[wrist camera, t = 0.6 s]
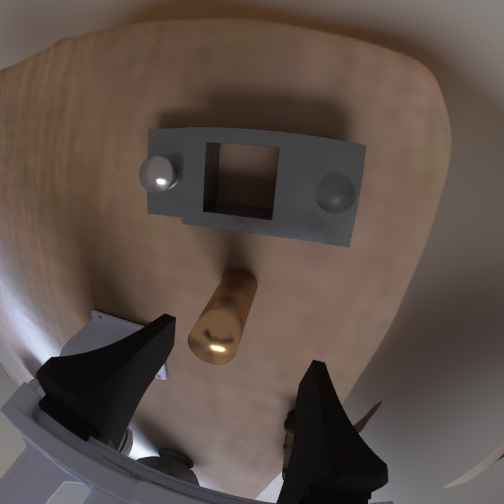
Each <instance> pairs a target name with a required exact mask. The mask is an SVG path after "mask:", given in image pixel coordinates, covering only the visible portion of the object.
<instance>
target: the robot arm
mask: <svg viewBox="0 0 504 504" xmlns="http://www.w3.org/2000/svg"><path fill="white" fill-rule="evenodd" d="M91 314H92V319H91V320H90V321H89V322H88V323H87V324H86V325H85V326H84V327H83V328H82V329H81V330H80V331H79V332H78V333H76V334H75V335H74V336H73V337H72V338H71V339H70V340H69V341H68V342H67V343H66V345H65V346H64V347H63V349H62V351H61V353H60V356H59V357H51V358H50V359H49V360H47V361H46V362H45V364H44V365H43V366H42V367H41V368H40V369H39V370H38V371H37V372H36V377H37V379H38V382H39V383H40V386H39V387H38V388H37V389H36V390H34V389H33V388H32V387H31V386H29V385H28V384H27V383H26V382H24V383H23V384H22V385H21V386H20V387H19V388H18V389H17V390H16V392H15V393H14V394H13V395H12V396H11V397H10V398H9V400H8V401H7V402H6V403H5V404H4V405H3V406H2V408H1V409H0V411H1V413H2V414H3V415H4V416H5V418H6V419H7V420H8V421H9V422H10V423H11V424H12V426H13V427H14V428H15V429H16V430H17V431H18V432H19V433H20V434H21V435H22V436H23V439H24V442H25V444H26V449H25V450H24V451H23V452H22V453H21V455H20V456H19V457H18V458H17V459H16V461H15V462H14V463H13V464H12V465H11V467H10V468H9V469H8V470H7V472H6V473H5V474H4V475H3V477H2V478H1V479H0V504H47V502H48V501H49V500H50V499H51V498H52V497H53V495H54V494H55V493H56V492H57V491H58V490H59V488H60V487H61V486H62V485H63V483H65V482H73V483H81V484H84V485H86V486H87V487H89V488H90V489H92V490H91V492H90V493H89V495H88V497H87V499H86V500H85V502H84V504H368V500H369V499H371V492H373V491H375V490H377V489H379V488H381V487H383V486H384V485H386V483H387V482H388V469H387V465H386V463H384V462H383V461H382V460H381V459H380V458H379V457H378V456H377V455H376V454H375V453H374V452H373V451H372V450H371V449H370V448H369V447H368V446H367V444H366V443H365V442H364V441H363V439H362V438H361V437H360V435H359V434H358V433H357V431H356V430H355V428H354V427H353V425H352V424H351V422H350V420H349V419H348V417H347V415H346V413H345V411H344V409H343V407H342V405H341V403H340V401H339V399H338V396H337V394H336V391H335V389H334V387H333V384H332V381H331V379H330V376H329V373H328V370H327V367H326V365H325V363H324V362H320V361H316V360H313V361H312V363H311V365H310V366H309V368H308V370H307V372H306V373H305V375H304V377H303V379H302V380H301V382H300V384H299V389H298V394H297V399H296V411H295V426H294V438H293V445H292V450H291V454H290V459H289V463H288V467H287V471H286V475H285V478H284V482H283V485H282V489H281V491H280V494H279V497H278V500H277V503H269V502H263V501H258V500H252V499H247V498H243V497H238V496H234V495H230V494H226V493H222V492H218V491H214V490H211V489H208V488H204V487H201V486H198V485H195V484H192V483H189V482H186V481H183V480H180V479H178V478H175V477H172V476H170V475H167V474H165V473H162V472H160V471H157V470H155V469H153V468H150V467H148V466H146V465H144V464H142V463H140V462H137V461H135V460H133V459H131V458H129V457H128V455H129V453H130V451H131V449H132V445H133V434H132V431H131V430H130V429H129V428H128V427H129V426H130V424H131V422H132V420H131V418H132V416H133V414H134V412H135V410H136V408H137V406H138V404H139V402H140V400H141V398H142V396H143V394H144V393H145V391H146V389H147V388H148V386H149V385H150V384H151V382H152V381H153V379H154V378H155V377H156V378H159V379H162V380H166V379H167V372H166V367H165V361H166V360H167V358H168V356H169V354H170V352H171V350H172V348H173V346H174V338H175V324H176V317H173V316H170V315H168V314H163V315H162V316H160V317H159V318H157V319H156V320H154V321H153V322H151V323H149V324H148V325H146V326H142V325H139V324H136V323H132V322H129V321H126V320H123V319H120V318H116V317H113V316H110V315H107V314H104V313H101V312H99V311H96V310H93V311H92V312H91ZM127 472H128V473H127ZM129 473H130V474H132V475H134V476H136V477H138V478H140V479H142V480H141V481H140V480H137V479H135V478H133V477H130V474H129ZM371 504H393V502H392V501H389V502H379V503H371Z"/></svg>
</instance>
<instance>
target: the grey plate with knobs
mask: <svg viewBox="0 0 504 504" xmlns="http://www.w3.org/2000/svg"><path fill="white" fill-rule="evenodd" d="M220 143H229V144H244V145H256V146H267V147H277V148H280V150H279V160H278V170H277V179H276V189H275V198H274V207H273V210H272V209H264V208H256V207H248V206H240V205H231V204H222V203H216V195H217V178H218V163H219V149H220ZM365 152H366V145H362V144H357V143H352V142H347V141H341V140H336V139H330V138H324V137H317V136H310V135H303V134H296V133H287V132H278V131H268V130H256V129H241V128H219V127H186V128H169V129H149V142H148V158H147V159H146V160H145V161H144V162H143V163H142V165H141V167H140V171H139V178H140V182H141V184H142V186H143V187H144V188H145V189H146V190H147V204H148V213H149V214H158V215H167V216H176V217H182V224H188V225H196V226H204V227H212V228H220V229H227V230H235V231H242V232H249V233H257V234H264V235H271V236H278V237H285V238H292V239H298V240H305V241H312V242H319V243H325V244H332V245H338V246H345V247H349V245H350V241H351V236H352V231H353V226H354V221H355V216H356V210H357V205H358V199H359V193H360V187H361V181H362V174H363V167H364V160H365Z"/></svg>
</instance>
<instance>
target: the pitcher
mask: <svg viewBox="0 0 504 504" xmlns="http://www.w3.org/2000/svg"><path fill="white" fill-rule="evenodd" d="M159 455H160V457H158V456H150V457H144V458H139V459H138V460H136V461H137V462H140V463H142V464H144V465H146V466H148V467H150V468H153V469H155V470H157V471H160V472H162V473H165V474H167V475H170V476H172V477H175V478H178V479H180V480H183V481H186V482H189V483H192V484H195V485H198V486H200V485H199V482H198V479H197V477H196V475H195V474H194V472H193V471H192V470H190V469H191V468H192V467H193V465H194V464H193V462H192V461H191V460H190V459H189V458H188V457H186V456H184V455H183V454H181V453H178V452H176V451H173V450H169V449H160V450H159ZM127 473H128V472H127ZM129 474H130V473H129ZM130 477H133V478H135V479H137V480H140V481H141V480H142V479H140V478H138V477H136V476H134V475H132V474H130Z"/></svg>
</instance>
